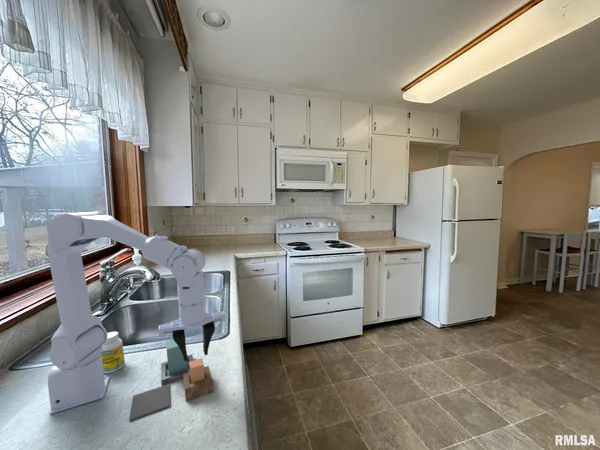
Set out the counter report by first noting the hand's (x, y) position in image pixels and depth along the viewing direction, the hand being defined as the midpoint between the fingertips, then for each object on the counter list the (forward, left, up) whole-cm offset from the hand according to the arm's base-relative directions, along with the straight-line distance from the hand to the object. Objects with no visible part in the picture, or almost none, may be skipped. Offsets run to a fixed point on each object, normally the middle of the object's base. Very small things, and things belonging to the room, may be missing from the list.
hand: (195, 355), depth 61 cm
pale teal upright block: (-4, +10, -8) cm, 14 cm away
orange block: (0, 0, -6) cm, 6 cm away
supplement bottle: (-20, +21, -9) cm, 30 cm away
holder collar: (-4, +10, -8) cm, 14 cm away
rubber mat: (-10, +1, -8) cm, 13 cm away
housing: (0, 0, -8) cm, 8 cm away
